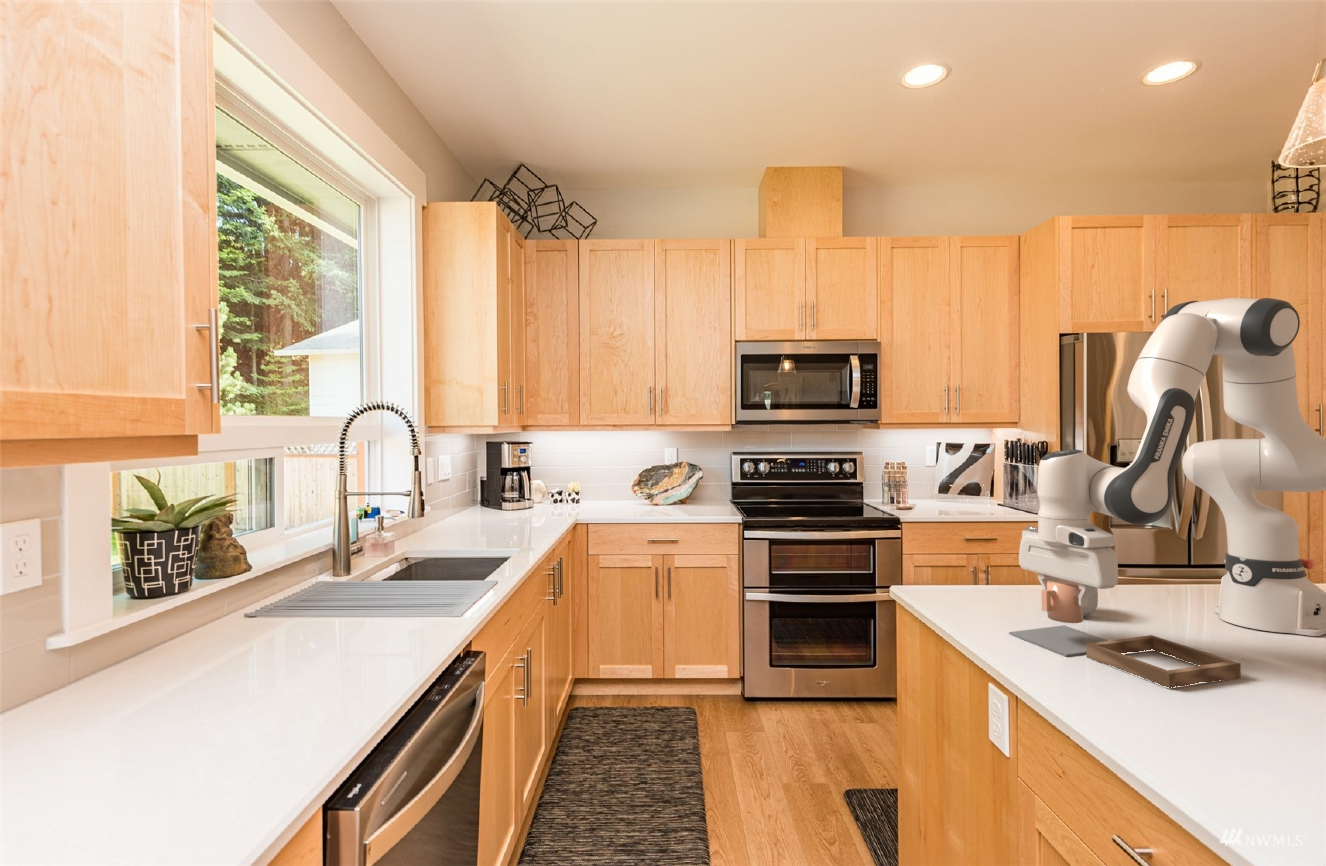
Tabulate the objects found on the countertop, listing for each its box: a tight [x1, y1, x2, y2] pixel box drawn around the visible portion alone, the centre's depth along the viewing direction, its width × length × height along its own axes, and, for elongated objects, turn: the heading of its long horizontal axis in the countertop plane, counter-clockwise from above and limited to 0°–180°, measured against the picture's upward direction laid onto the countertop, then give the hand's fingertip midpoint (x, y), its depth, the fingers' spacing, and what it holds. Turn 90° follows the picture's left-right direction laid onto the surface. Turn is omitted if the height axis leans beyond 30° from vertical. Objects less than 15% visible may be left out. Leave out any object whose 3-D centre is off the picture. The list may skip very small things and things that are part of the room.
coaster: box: [1008, 625, 1109, 658], centre depth 129 cm, size 14×14×1 cm
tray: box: [1085, 634, 1242, 688], centre depth 115 cm, size 15×15×2 cm
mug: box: [1041, 580, 1084, 624], centre depth 128 cm, size 8×6×7 cm
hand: (1065, 601), depth 129 cm, fingers closed on mug, 6 cm apart
